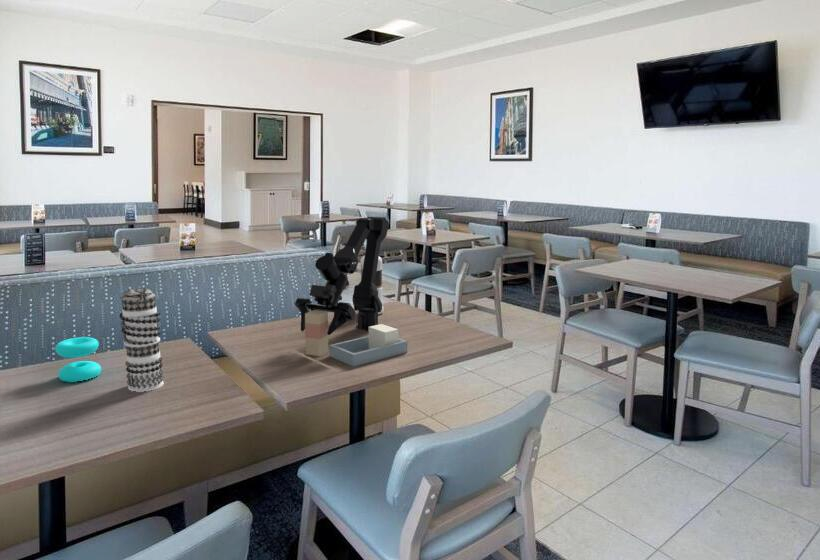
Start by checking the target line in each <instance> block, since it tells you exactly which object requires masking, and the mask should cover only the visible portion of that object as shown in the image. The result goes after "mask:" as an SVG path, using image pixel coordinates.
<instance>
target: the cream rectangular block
mask: <svg viewBox="0 0 820 560" xmlns="http://www.w3.org/2000/svg"><path fill="white" fill-rule="evenodd" d="M368 336H369V349H373V348H377V347H381V346H385V345H389V344H393V343H397V342H398V338H399V329H398V328H395V327H392V326H389V325H385V324H383V323H380V324H379V323H378V325H375V326H370V327H369V330H368Z"/></svg>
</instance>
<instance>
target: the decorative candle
mask: <svg viewBox="0 0 820 560" xmlns="http://www.w3.org/2000/svg"><path fill="white" fill-rule="evenodd" d="M156 296H157V295H156V294H155V293H153V291H152V290H151V289H148V288H140V287H139V288H131V289H128V290H126V291H124V293H123V295H122V296H121V297H120V299H121V302H122V303H121V304H122V305H121V306H122V309H121V313H120V314H119V316H118V317H119V318H120V320H121V322H120V327H121V332H122V334H123V335H122V340H123V345H124V346H125V348H126V349H125V350H126V357H125V358H126V361H125V366H126V368H125V370H126V372H127V374H126V375H125V377H126V379H127V381H126V384H127V385H128V387H127V390H128V389H129V390H128V391H130V390H131V391H130V392H133V391H136V392H135V393H144V391H146V392H151V390H152V391H154V390H158V389H160V388H162V387H163V386H164V384H165V383H164V369H162V368H163V363H162V361H163V358H162V356H161V350H160V346H159V344H160V342H161V337H160V335H161V333H162V332H160V331H159V330H160V329H161V325H159V324H157V323H158V322H160V321H161V318H159V316H161V312H159V311H158V310H157V305H156Z"/></svg>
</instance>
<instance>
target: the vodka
mask: <svg viewBox="0 0 820 560" xmlns="http://www.w3.org/2000/svg"><path fill="white" fill-rule="evenodd" d="M364 257H365V255H363V256H362V257H361V259H360V261H359V262H360V279H361V278H362V271H363V264H364ZM375 285H376V288H377V290H378V298H379V299H380V301H381V303H382V310H381V312H378V316H379V315H381V314H383V313H384V310H385V309H384V304H383V287H382V286H383V259H382V257H381V256H380V255H379V258H378V265H377V272H376V279H375Z"/></svg>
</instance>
